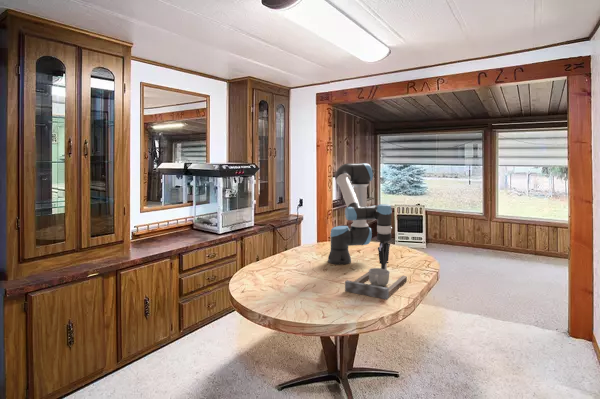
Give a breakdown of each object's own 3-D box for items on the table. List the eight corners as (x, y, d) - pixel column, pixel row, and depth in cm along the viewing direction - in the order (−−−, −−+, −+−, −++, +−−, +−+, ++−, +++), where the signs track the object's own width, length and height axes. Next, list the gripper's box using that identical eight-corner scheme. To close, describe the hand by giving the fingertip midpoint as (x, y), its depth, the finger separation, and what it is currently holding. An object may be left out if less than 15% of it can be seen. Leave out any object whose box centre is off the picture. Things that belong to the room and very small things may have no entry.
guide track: (345, 291, 188) (345, 281, 187) (369, 274, 215) (369, 266, 214) (386, 299, 176) (386, 289, 175) (407, 280, 203) (407, 272, 202)
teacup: (373, 280, 204) (373, 266, 203) (392, 283, 198) (392, 269, 197) (363, 287, 192) (363, 273, 191) (383, 291, 186) (383, 276, 186)
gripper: (386, 235, 192) (386, 279, 195) (394, 231, 203) (394, 272, 206) (373, 234, 196) (373, 277, 199) (381, 230, 207) (381, 271, 210)
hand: (383, 274), depth 202 cm, fingers closed
